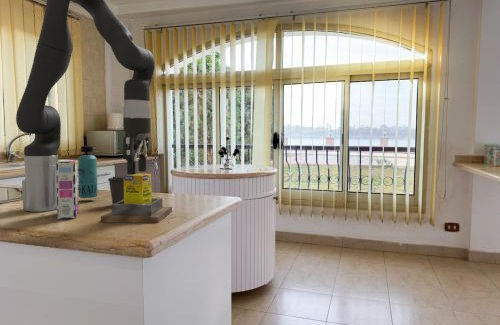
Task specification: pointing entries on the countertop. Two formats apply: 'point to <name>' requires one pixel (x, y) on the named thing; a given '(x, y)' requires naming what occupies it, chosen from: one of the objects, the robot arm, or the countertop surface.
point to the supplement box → (137, 189)
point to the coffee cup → (117, 188)
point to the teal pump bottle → (87, 174)
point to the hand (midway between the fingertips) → (137, 172)
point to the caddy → (137, 212)
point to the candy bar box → (67, 189)
